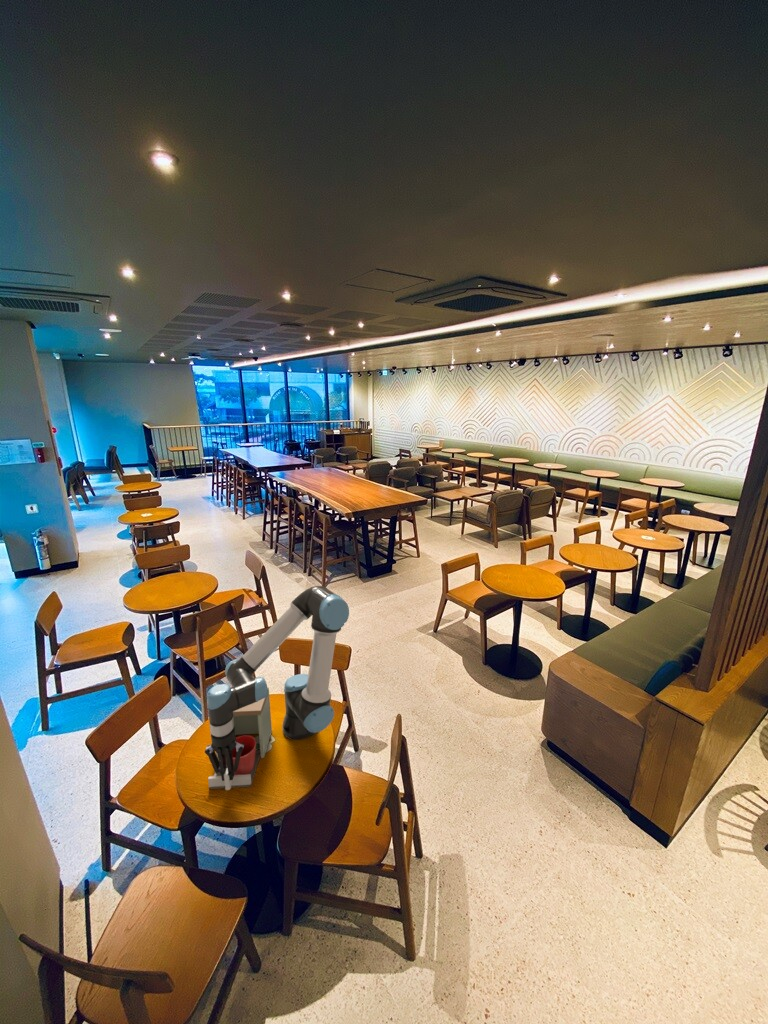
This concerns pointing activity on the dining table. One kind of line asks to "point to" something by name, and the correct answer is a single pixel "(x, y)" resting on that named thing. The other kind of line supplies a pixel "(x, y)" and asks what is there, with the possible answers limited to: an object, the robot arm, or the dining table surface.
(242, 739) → the flower pot
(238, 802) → the dining table surface
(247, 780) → the tray
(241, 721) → the beige open box
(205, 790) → the dining table surface
